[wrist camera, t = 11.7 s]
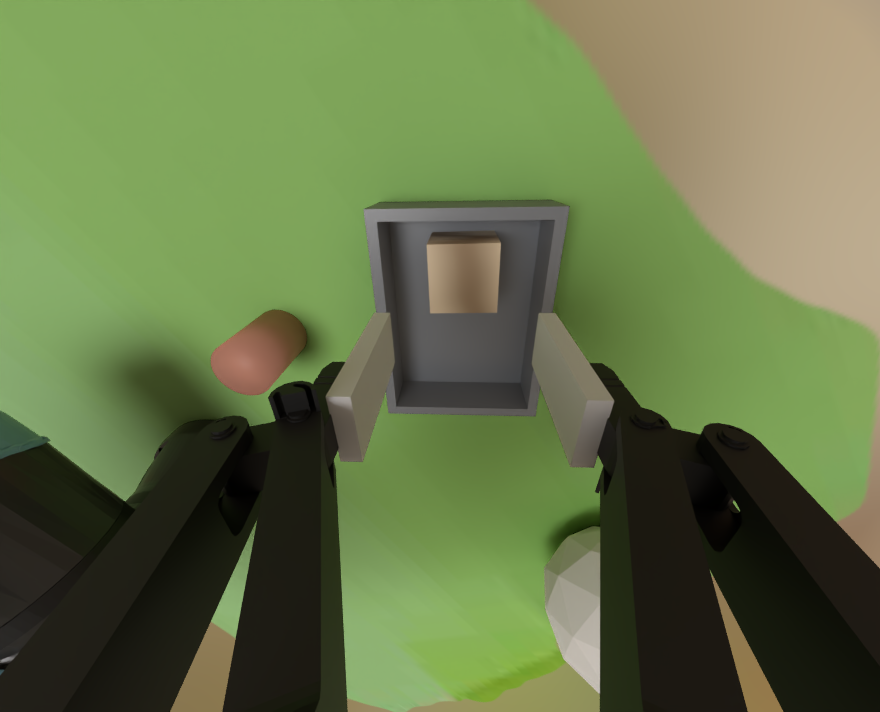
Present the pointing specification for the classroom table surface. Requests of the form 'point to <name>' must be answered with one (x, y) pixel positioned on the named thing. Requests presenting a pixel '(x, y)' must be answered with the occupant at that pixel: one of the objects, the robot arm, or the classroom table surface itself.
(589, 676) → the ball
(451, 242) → the wooden cube
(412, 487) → the classroom table surface
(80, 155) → the classroom table surface
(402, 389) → the tote
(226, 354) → the red cylinder
